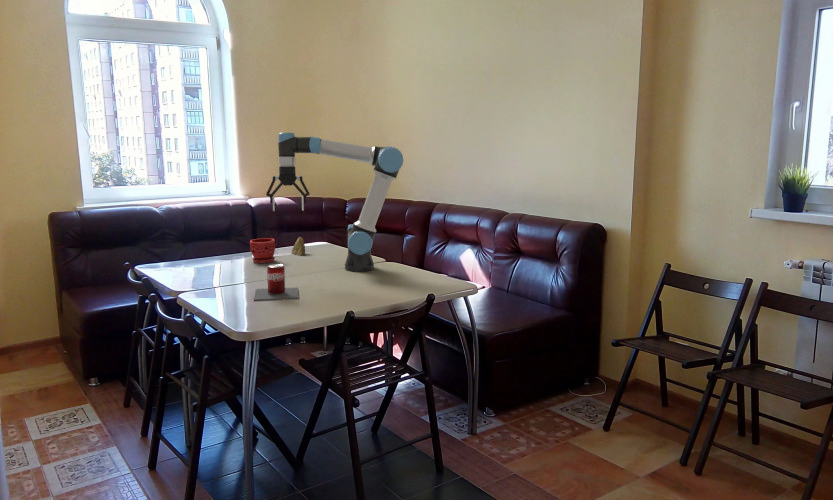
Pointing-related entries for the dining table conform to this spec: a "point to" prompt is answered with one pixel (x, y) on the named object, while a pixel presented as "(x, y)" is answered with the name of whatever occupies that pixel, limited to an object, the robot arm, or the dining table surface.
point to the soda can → (276, 279)
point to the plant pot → (262, 250)
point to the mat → (264, 295)
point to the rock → (299, 247)
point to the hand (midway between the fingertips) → (288, 210)
